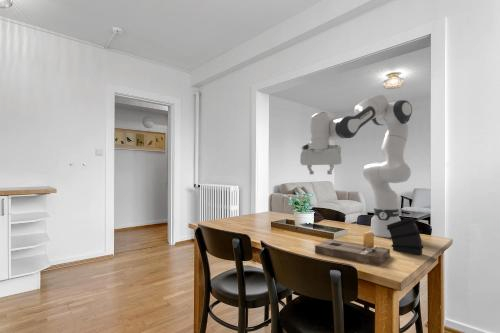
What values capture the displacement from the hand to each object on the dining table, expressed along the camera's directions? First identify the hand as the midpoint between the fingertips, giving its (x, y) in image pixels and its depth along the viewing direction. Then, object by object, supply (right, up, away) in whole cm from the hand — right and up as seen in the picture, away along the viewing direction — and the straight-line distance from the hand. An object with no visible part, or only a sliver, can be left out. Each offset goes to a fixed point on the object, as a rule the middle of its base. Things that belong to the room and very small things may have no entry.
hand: (320, 174), depth 135 cm
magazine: (+32, -33, -16) cm, 48 cm away
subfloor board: (+8, -33, -19) cm, 39 cm away
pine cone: (+5, -34, +43) cm, 55 cm away
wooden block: (+13, -33, -23) cm, 42 cm away
